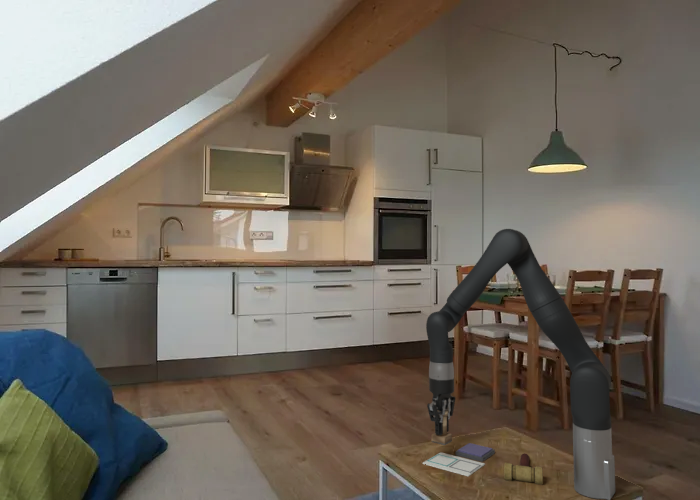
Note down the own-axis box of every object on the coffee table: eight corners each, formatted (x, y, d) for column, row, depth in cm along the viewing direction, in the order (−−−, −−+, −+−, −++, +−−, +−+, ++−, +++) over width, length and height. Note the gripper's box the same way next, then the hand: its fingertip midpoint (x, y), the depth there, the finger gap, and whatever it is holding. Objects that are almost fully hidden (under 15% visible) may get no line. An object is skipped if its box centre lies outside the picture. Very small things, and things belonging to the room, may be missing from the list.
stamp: (451, 441, 154) (451, 410, 155) (444, 445, 151) (444, 414, 151) (438, 438, 157) (438, 408, 157) (431, 442, 154) (431, 411, 154)
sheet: (485, 464, 151) (484, 463, 151) (468, 476, 142) (468, 475, 142) (440, 453, 160) (440, 452, 160) (422, 463, 152) (422, 462, 152)
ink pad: (494, 453, 160) (494, 448, 160) (482, 461, 153) (482, 456, 153) (468, 447, 166) (468, 442, 166) (455, 455, 159) (455, 449, 159)
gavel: (508, 445, 159) (542, 449, 155) (508, 460, 159) (542, 464, 155) (504, 465, 139) (542, 470, 136) (504, 482, 139) (542, 487, 135)
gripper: (440, 382, 147) (441, 441, 146) (463, 374, 158) (463, 429, 157) (418, 378, 152) (419, 436, 151) (441, 371, 162) (442, 425, 162)
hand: (442, 432), depth 154 cm, fingers closed on stamp, 3 cm apart
